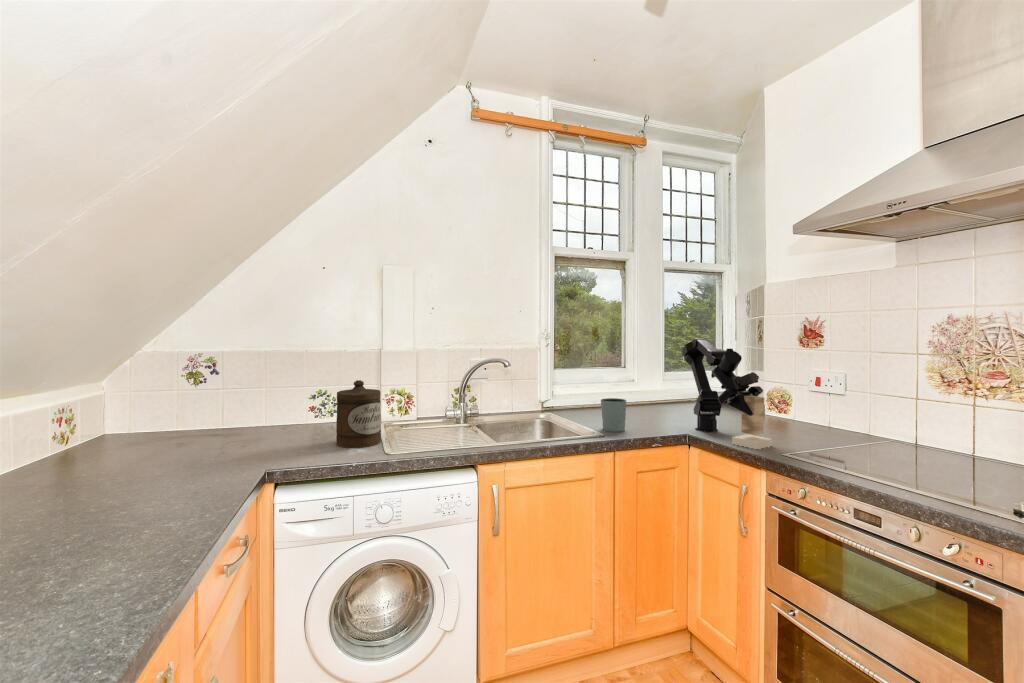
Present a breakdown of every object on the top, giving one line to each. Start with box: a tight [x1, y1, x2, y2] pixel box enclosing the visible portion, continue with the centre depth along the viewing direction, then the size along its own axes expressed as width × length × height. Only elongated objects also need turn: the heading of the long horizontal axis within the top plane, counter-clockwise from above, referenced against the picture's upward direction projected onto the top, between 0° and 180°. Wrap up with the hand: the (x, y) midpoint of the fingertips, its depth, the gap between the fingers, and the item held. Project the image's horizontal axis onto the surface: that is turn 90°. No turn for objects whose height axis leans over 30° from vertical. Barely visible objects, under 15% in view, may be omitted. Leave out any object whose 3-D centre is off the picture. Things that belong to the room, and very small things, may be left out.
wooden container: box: [335, 379, 382, 449], centre depth 167 cm, size 15×15×22 cm
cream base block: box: [731, 433, 774, 450], centre depth 165 cm, size 9×9×3 cm
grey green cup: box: [600, 397, 627, 433], centre depth 191 cm, size 10×10×12 cm
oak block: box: [740, 396, 765, 436], centre depth 165 cm, size 5×5×12 cm
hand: (756, 414), depth 164 cm, fingers closed on oak block, 5 cm apart
